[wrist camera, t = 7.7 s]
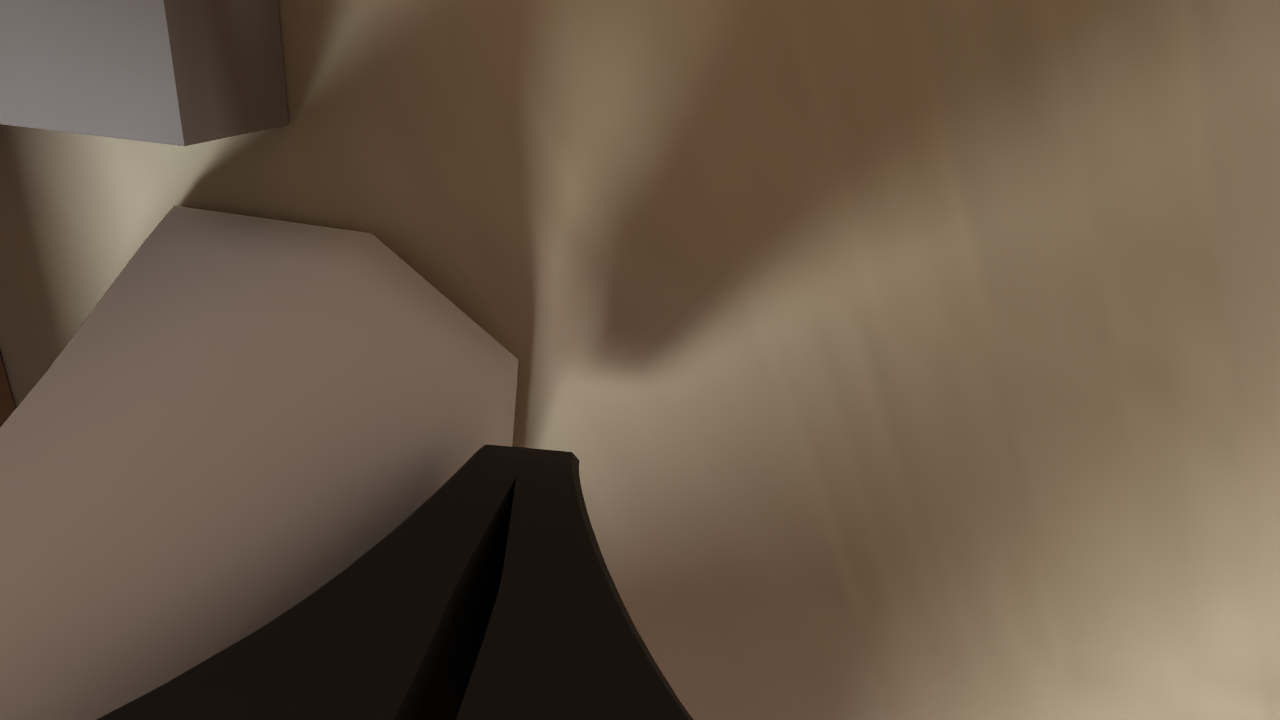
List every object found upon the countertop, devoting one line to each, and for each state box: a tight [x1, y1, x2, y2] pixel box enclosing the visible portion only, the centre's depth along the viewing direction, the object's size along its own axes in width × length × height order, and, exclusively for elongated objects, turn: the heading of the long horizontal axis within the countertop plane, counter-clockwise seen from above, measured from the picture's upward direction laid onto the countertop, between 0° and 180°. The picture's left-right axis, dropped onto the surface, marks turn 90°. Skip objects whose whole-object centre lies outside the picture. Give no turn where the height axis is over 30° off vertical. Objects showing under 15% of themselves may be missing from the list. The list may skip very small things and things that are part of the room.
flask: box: [0, 206, 519, 720], centre depth 7 cm, size 7×7×10 cm
